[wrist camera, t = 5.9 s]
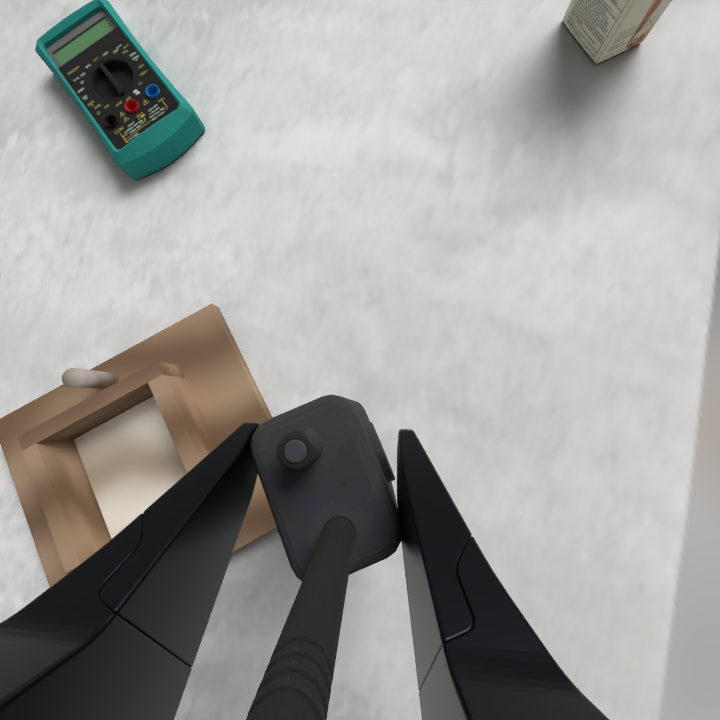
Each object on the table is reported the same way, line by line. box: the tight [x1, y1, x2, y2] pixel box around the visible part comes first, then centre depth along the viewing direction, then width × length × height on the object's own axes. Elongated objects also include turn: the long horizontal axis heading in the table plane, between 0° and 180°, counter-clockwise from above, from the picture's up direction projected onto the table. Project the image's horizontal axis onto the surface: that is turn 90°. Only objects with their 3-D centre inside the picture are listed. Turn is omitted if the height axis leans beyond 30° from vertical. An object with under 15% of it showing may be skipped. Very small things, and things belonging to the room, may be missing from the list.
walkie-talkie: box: [246, 395, 402, 720], centre depth 10 cm, size 5×3×15 cm
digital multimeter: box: [35, 0, 205, 180], centre depth 27 cm, size 7×15×3 cm, turn 37°
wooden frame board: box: [0, 304, 277, 587], centre depth 21 cm, size 16×18×4 cm
